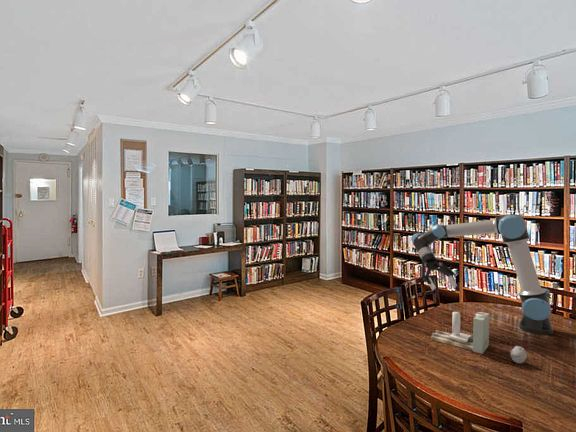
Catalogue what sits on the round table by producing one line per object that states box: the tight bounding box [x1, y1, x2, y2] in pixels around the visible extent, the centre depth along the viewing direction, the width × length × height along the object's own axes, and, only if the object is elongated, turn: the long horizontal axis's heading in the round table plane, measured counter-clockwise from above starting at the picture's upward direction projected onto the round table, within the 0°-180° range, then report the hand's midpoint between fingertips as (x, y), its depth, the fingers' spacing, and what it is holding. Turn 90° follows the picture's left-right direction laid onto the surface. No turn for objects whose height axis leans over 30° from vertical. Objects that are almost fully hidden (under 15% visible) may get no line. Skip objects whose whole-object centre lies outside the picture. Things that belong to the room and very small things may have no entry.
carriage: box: [449, 311, 473, 342], centre depth 171 cm, size 11×8×12 cm
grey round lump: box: [509, 345, 528, 365], centre depth 152 cm, size 6×7×7 cm
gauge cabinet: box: [472, 311, 490, 354], centre depth 166 cm, size 5×12×17 cm, turn 137°
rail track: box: [430, 329, 473, 351], centre depth 174 cm, size 20×10×2 cm, turn 47°
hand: (444, 287), depth 189 cm, fingers open, 13 cm apart
